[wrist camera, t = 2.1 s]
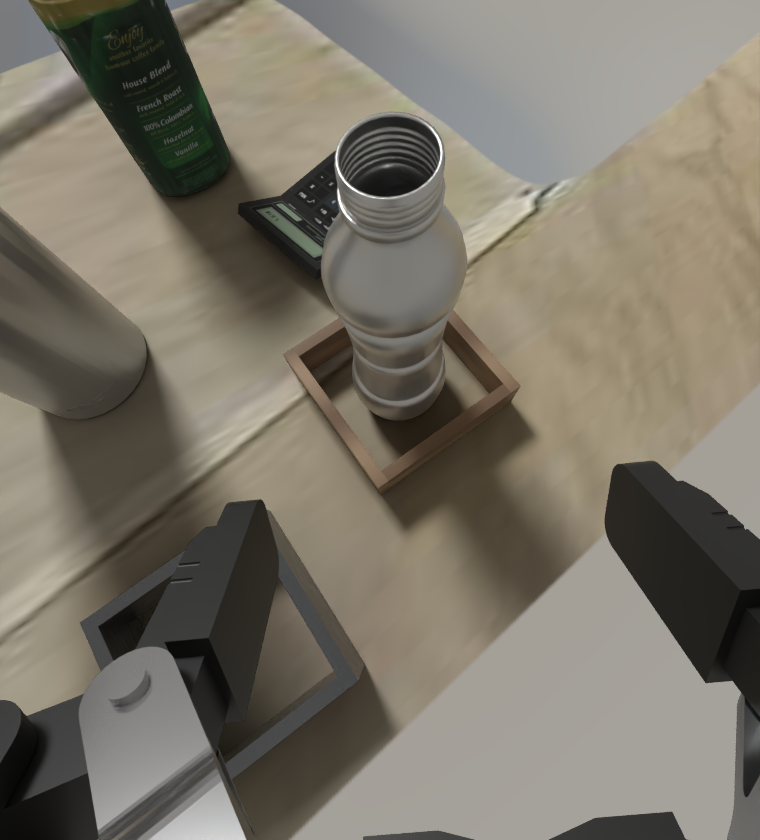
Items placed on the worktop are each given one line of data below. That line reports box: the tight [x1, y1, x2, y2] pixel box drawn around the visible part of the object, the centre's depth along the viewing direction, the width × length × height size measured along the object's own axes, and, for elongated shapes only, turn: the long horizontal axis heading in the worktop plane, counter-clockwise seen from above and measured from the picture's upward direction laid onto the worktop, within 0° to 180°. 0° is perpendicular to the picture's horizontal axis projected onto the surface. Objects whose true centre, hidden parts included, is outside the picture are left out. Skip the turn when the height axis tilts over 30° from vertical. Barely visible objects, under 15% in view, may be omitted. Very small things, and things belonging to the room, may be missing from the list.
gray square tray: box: [80, 510, 365, 779], centre depth 27 cm, size 12×12×4 cm
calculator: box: [238, 151, 340, 279], centre depth 37 cm, size 9×12×3 cm
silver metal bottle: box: [321, 112, 467, 421], centre depth 24 cm, size 6×7×20 cm
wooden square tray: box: [283, 310, 520, 495], centre depth 32 cm, size 12×12×3 cm
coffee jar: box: [28, 0, 230, 196], centre depth 32 cm, size 10×8×19 cm
